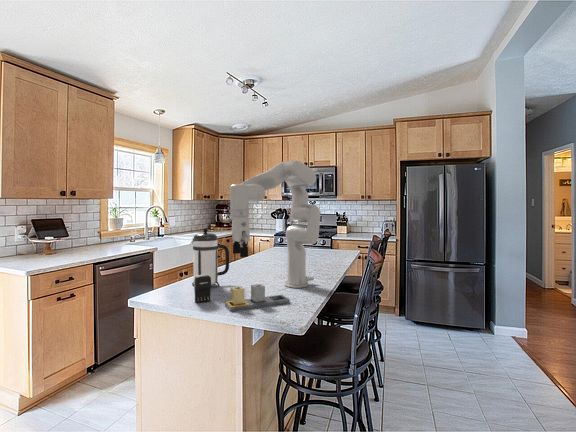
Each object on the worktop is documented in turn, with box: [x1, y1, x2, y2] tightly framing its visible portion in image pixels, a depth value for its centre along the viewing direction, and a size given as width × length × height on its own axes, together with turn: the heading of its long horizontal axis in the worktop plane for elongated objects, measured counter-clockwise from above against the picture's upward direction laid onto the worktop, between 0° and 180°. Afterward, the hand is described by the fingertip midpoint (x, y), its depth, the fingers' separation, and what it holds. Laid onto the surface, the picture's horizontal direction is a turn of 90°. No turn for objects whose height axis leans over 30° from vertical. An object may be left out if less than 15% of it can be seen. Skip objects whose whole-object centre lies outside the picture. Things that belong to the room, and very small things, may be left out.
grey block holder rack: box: [224, 294, 291, 312], centre depth 135 cm, size 26×8×2 cm, turn 116°
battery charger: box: [193, 275, 212, 303], centre depth 139 cm, size 7×4×11 cm, turn 117°
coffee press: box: [189, 227, 230, 288], centre depth 166 cm, size 17×16×30 cm
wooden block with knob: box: [230, 286, 245, 306], centre depth 131 cm, size 4×4×8 cm
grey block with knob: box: [250, 283, 266, 303], centre depth 135 cm, size 4×4×8 cm
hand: (240, 255), depth 134 cm, fingers open, 9 cm apart
